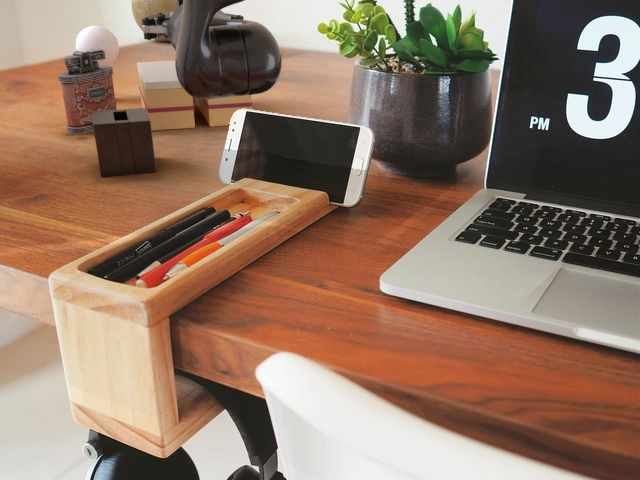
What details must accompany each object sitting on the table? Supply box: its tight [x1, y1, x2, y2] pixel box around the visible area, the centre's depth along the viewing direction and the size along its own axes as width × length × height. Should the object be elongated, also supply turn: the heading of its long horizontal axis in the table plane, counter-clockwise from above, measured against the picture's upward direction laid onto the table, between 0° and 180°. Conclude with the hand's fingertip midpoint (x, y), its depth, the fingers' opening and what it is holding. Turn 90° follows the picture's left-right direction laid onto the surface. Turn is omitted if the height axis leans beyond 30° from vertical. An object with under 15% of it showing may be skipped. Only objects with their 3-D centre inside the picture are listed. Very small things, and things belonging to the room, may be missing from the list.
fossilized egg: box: [131, 0, 177, 42], centre depth 157 cm, size 13×13×15 cm
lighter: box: [57, 49, 118, 135], centre depth 96 cm, size 8×3×10 cm, turn 151°
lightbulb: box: [75, 25, 120, 80], centre depth 109 cm, size 6×6×11 cm
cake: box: [136, 60, 253, 132], centre depth 104 cm, size 14×14×6 cm
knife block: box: [92, 107, 157, 178], centre depth 83 cm, size 6×6×6 cm
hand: (185, 18), depth 102 cm, fingers closed on knife, 2 cm apart
